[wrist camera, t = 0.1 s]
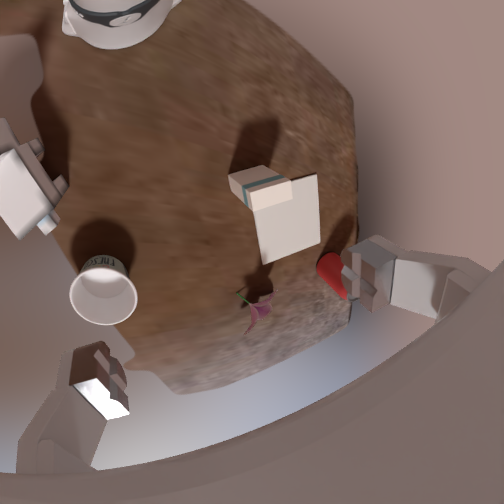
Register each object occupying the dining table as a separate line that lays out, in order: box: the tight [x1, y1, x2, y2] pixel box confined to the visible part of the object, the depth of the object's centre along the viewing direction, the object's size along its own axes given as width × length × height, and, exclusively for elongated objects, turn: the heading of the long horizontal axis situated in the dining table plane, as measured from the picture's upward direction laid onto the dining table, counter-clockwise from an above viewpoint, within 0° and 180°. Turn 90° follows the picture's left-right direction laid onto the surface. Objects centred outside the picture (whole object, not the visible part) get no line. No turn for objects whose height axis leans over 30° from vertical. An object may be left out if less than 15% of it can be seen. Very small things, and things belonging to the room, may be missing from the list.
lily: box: [236, 289, 278, 335], centre depth 60 cm, size 12×12×10 cm
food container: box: [69, 255, 137, 325], centre depth 44 cm, size 12×12×6 cm
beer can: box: [317, 252, 359, 302], centre depth 62 cm, size 7×7×12 cm
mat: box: [253, 174, 320, 265], centre depth 56 cm, size 16×14×1 cm
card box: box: [228, 165, 293, 212], centre depth 45 cm, size 3×6×10 cm, turn 100°
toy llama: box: [0, 118, 69, 240], centre depth 25 cm, size 8×18×20 cm, turn 25°
